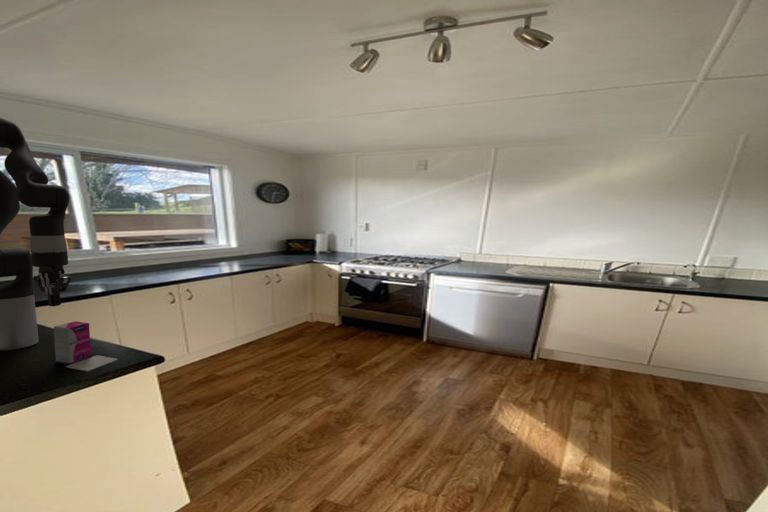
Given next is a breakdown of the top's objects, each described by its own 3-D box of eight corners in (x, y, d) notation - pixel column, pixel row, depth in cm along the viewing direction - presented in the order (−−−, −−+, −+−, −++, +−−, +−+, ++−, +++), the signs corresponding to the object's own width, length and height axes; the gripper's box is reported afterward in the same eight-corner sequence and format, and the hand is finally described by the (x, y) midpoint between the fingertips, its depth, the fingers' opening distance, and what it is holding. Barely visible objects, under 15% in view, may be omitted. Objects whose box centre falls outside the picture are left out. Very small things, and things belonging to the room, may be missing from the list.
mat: (66, 367, 91) (65, 366, 90) (97, 356, 98) (97, 355, 98) (87, 371, 88) (87, 370, 88) (118, 359, 96) (118, 359, 96)
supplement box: (70, 365, 92) (67, 328, 91) (55, 363, 93) (51, 326, 92) (92, 357, 98) (89, 322, 96) (77, 355, 99) (74, 320, 97)
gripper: (17, 250, 91) (24, 307, 93) (48, 252, 88) (53, 310, 90) (50, 248, 99) (55, 301, 100) (79, 250, 95) (84, 304, 97)
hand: (54, 305), depth 95 cm, fingers closed
